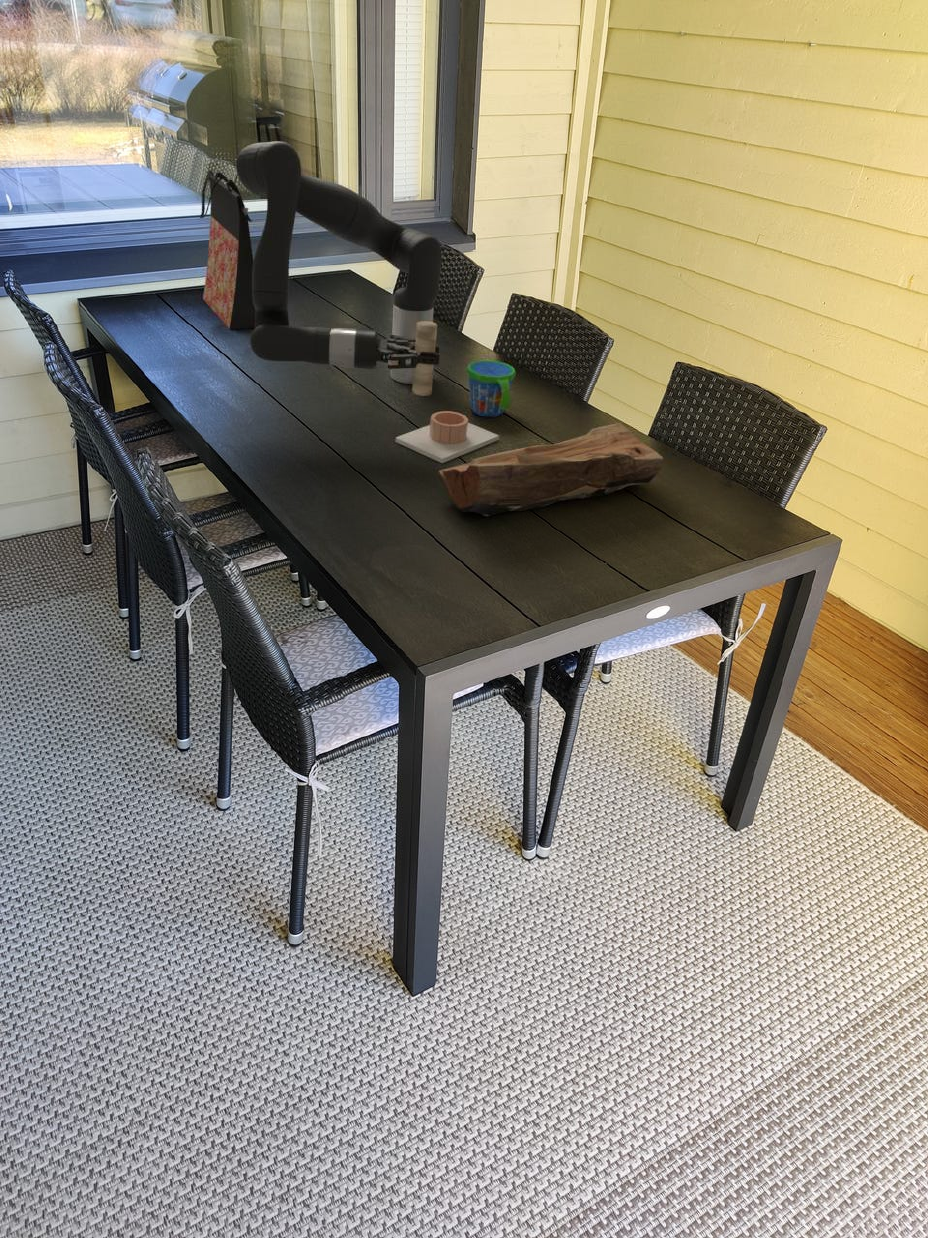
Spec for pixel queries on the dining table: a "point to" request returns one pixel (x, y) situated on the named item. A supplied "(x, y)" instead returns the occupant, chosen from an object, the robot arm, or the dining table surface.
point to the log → (552, 472)
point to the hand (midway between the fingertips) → (438, 355)
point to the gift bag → (228, 255)
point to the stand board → (446, 452)
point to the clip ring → (448, 427)
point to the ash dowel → (424, 371)
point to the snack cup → (490, 387)
